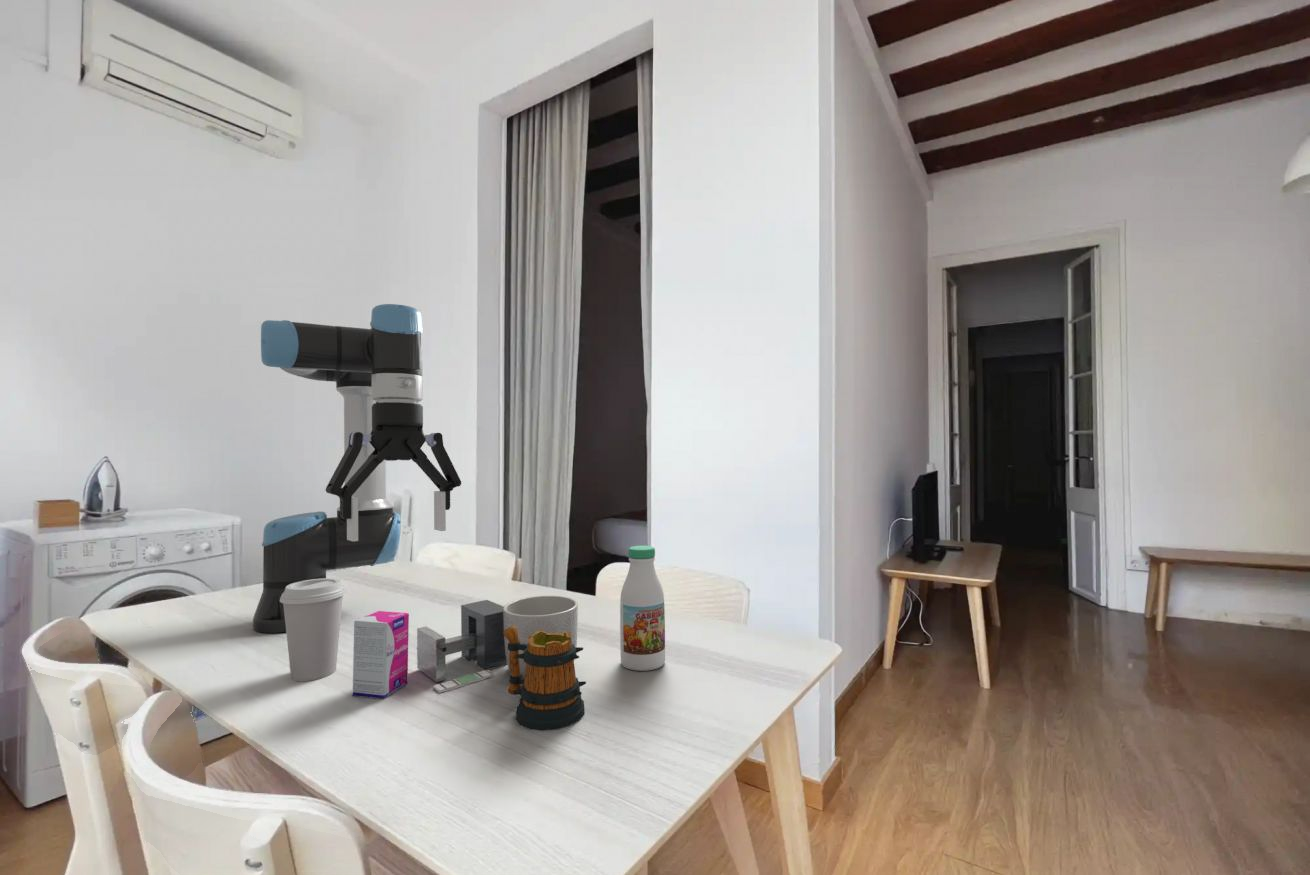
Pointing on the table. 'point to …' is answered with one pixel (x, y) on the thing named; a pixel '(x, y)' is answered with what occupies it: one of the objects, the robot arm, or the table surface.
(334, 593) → the coffee cup
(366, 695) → the supplement box
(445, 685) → the strip
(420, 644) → the grey block with crossbar
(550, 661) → the mug
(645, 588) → the milk bottle
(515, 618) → the planter
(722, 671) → the table surface
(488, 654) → the box
